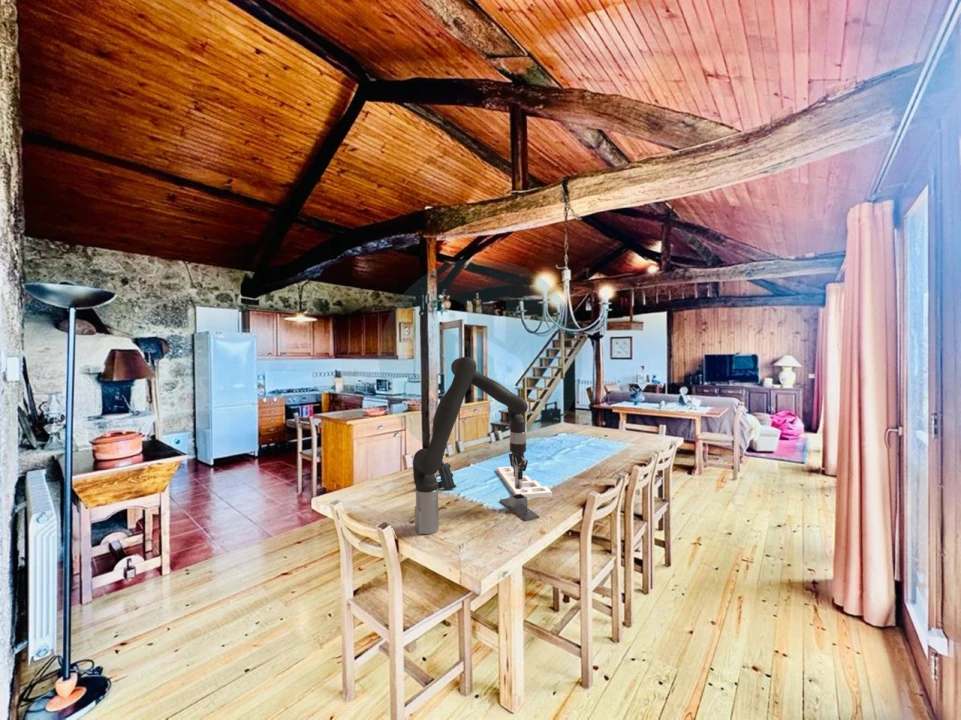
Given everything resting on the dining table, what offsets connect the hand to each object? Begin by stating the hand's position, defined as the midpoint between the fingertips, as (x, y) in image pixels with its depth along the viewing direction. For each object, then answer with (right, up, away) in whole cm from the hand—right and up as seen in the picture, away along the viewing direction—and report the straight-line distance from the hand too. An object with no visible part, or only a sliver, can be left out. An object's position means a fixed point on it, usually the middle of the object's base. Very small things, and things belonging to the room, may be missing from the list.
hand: (518, 477), depth 188 cm
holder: (+5, -14, +37) cm, 40 cm away
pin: (0, -5, 0) cm, 5 cm away
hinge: (0, -15, +1) cm, 15 cm away
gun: (-38, -14, +26) cm, 48 cm away
